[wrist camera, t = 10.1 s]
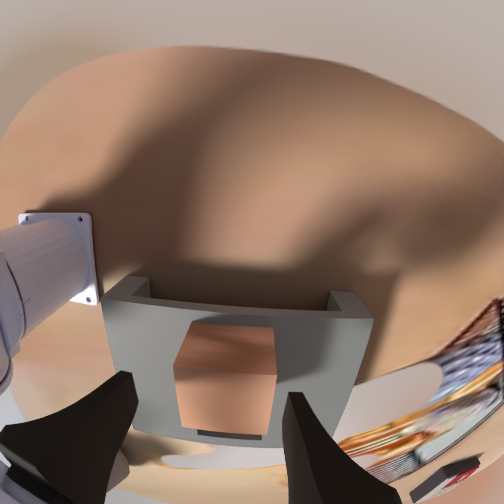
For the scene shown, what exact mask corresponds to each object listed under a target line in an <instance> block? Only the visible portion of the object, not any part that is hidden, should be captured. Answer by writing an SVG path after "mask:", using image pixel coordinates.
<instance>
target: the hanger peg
mask: <svg viewBox="0 0 504 504" xmlns="http://www.w3.org/2000/svg"><path fill="white" fill-rule="evenodd" d="M173 371H174V379H175V387H176V394H177V401H178V407H179V413H180V419H181V425H182V427H186V428H193V429H200V430H208V431H216V432H226V433H238V434H255V435H267V432H268V426H269V421H270V415H271V409H272V403H273V397H274V391H275V385H276V379H277V368H276V355H275V343H274V331H273V328H270V327H253V326H239V325H226V324H215V323H204V322H194V321H192V322H191V324H190V327H189V329H188V331H187V333H186V336H185V338H184V340H183V343H182V345H181V347H180V350H179V352H178V354H177V357H176V359H175V361H174V364H173Z"/></svg>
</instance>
